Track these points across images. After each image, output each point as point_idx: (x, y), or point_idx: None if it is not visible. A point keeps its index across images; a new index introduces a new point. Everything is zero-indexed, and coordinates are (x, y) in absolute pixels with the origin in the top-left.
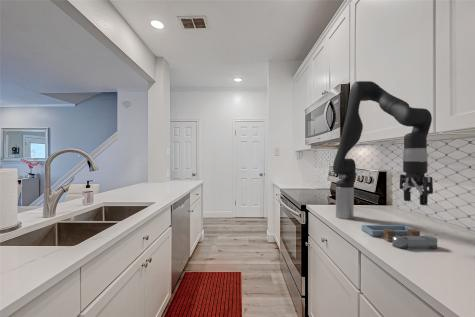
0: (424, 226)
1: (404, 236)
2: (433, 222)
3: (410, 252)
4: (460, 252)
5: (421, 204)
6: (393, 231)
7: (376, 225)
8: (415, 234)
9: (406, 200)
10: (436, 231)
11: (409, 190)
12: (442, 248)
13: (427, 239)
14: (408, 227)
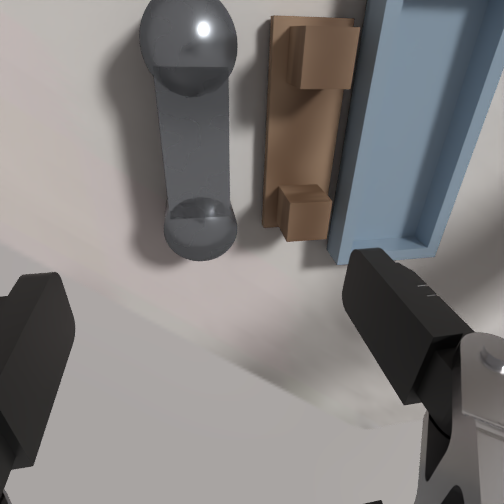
0: None
1: (216, 98)
2: None
3: (101, 48)
4: (148, 291)
5: (21, 277)
6: (301, 75)
7: (487, 85)
8: (284, 212)
9: (353, 263)
10: None
11: (429, 415)
12: None
13: (170, 205)
14: (398, 251)
